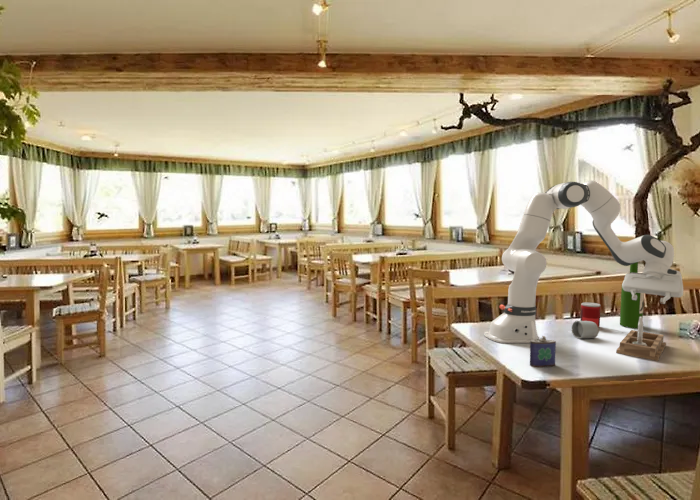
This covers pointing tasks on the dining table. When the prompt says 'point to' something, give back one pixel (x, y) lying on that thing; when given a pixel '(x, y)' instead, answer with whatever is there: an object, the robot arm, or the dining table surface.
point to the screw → (640, 333)
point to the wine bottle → (631, 305)
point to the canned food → (590, 312)
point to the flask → (542, 352)
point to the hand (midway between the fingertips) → (647, 301)
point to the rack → (649, 351)
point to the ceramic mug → (585, 329)
